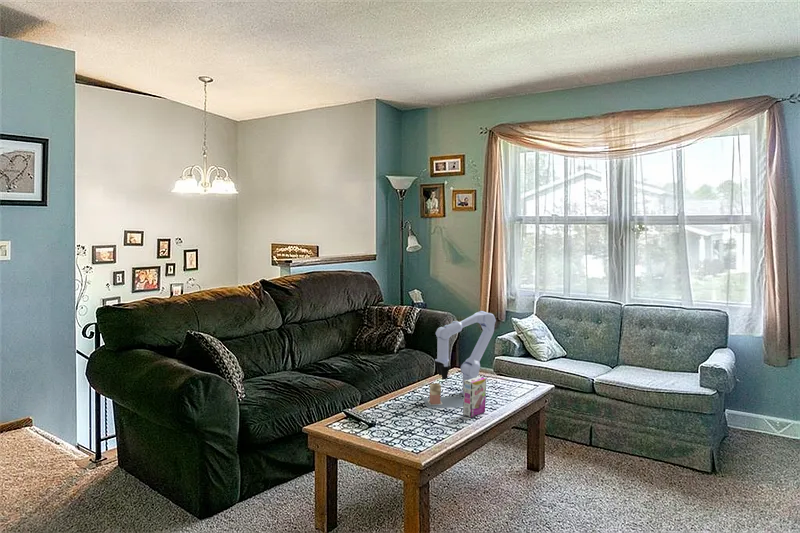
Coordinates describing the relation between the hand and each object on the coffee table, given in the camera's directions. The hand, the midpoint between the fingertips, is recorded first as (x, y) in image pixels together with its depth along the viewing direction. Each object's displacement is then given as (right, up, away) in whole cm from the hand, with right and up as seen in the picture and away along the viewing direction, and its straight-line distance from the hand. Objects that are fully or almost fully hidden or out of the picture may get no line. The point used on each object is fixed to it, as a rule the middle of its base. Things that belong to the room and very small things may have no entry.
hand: (442, 377), depth 282 cm
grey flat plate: (0, -11, -8) cm, 14 cm away
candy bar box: (+13, -13, -24) cm, 30 cm away
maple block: (-4, -6, -9) cm, 12 cm away
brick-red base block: (-4, -11, -9) cm, 15 cm away
